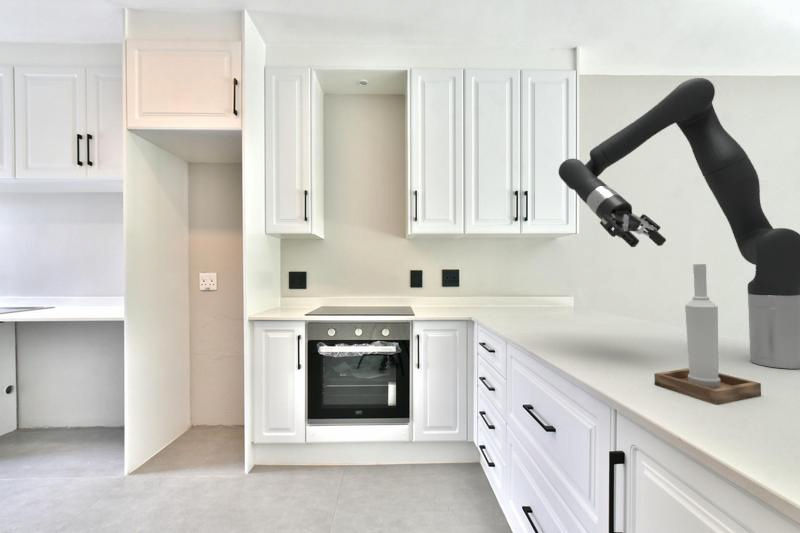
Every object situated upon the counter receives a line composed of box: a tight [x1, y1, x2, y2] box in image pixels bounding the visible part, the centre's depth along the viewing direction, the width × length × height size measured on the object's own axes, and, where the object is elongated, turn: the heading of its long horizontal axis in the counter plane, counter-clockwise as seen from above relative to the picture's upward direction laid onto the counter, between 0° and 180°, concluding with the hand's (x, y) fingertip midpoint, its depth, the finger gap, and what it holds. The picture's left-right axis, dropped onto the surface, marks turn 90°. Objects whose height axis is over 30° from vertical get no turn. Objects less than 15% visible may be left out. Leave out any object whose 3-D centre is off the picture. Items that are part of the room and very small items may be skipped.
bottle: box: [684, 263, 720, 389], centre depth 74 cm, size 5×5×25 cm
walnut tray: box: [654, 367, 762, 405], centre depth 74 cm, size 12×12×2 cm
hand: (649, 243), depth 89 cm, fingers open, 8 cm apart
